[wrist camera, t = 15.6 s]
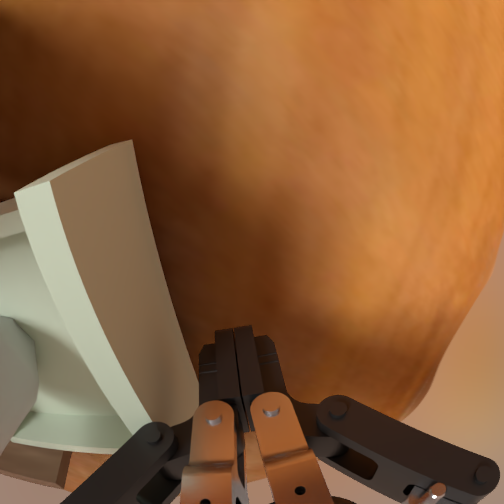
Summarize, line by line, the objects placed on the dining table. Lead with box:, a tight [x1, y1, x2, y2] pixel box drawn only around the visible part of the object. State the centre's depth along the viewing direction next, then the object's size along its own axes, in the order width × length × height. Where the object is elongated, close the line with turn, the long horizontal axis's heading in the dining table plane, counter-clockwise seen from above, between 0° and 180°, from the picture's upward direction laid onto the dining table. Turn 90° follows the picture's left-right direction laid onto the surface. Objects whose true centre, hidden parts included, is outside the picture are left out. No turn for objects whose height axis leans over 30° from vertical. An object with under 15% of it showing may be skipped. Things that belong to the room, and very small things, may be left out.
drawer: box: [0, 139, 199, 493], centre depth 12 cm, size 17×15×7 cm
